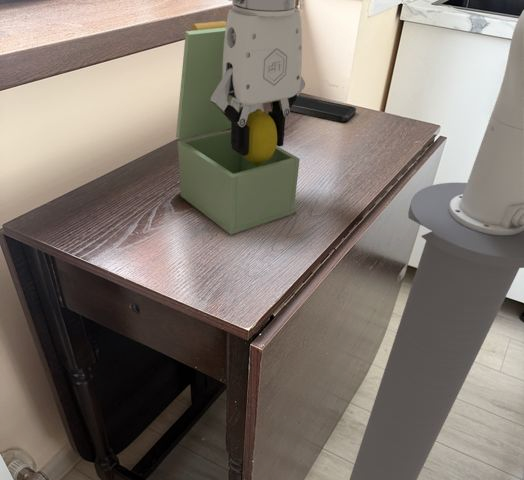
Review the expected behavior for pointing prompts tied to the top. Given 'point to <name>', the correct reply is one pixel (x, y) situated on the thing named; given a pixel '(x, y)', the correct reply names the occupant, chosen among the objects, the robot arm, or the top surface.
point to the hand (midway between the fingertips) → (257, 146)
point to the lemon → (261, 137)
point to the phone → (323, 109)
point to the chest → (236, 182)
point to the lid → (201, 81)
